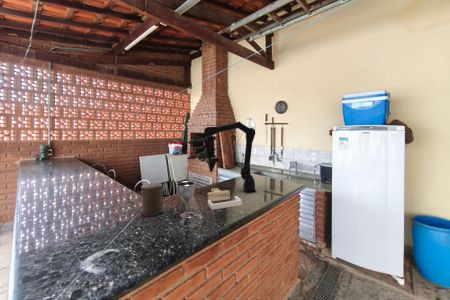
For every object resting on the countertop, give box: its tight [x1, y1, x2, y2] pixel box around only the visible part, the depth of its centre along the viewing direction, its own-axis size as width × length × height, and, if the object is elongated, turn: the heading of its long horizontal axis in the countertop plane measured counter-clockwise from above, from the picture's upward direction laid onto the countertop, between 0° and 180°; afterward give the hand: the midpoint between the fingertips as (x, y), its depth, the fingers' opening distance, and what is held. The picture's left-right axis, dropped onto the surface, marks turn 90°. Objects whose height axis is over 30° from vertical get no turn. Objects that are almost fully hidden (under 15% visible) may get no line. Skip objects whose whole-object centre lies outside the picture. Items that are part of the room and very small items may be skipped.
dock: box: [207, 195, 243, 211], centre depth 108 cm, size 16×8×2 cm, turn 108°
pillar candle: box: [140, 182, 165, 217], centre depth 101 cm, size 10×10×15 cm
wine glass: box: [176, 180, 196, 219], centre depth 96 cm, size 8×8×15 cm
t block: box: [207, 187, 231, 202], centre depth 121 cm, size 11×12×4 cm
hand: (211, 171), depth 131 cm, fingers closed
